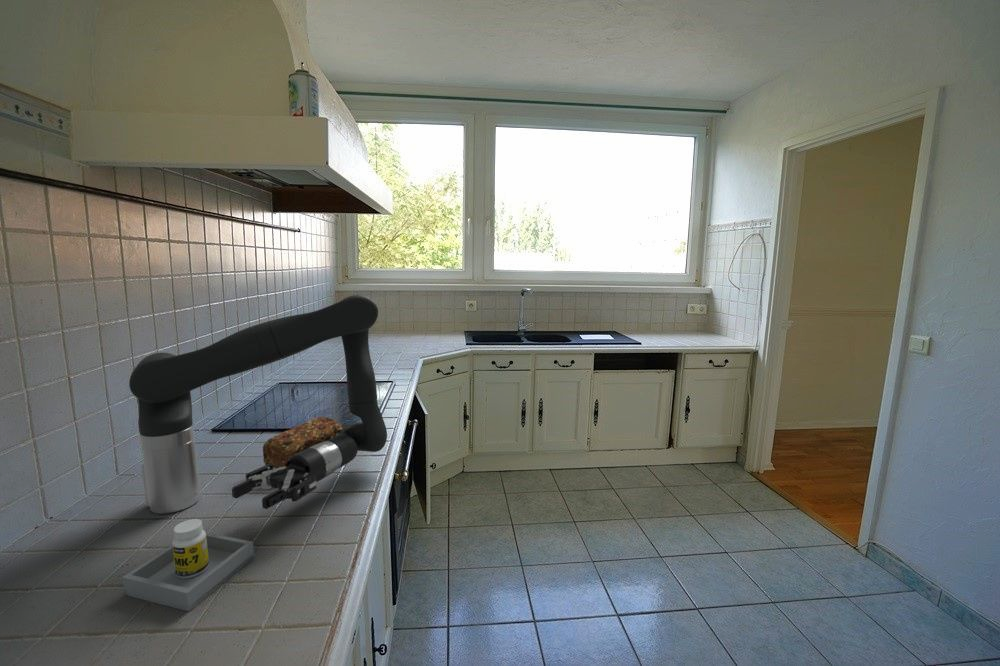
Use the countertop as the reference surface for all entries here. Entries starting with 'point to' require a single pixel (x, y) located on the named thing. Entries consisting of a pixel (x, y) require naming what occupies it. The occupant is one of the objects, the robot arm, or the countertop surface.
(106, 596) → the countertop surface
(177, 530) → the supplement bottle
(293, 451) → the bread
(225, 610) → the countertop surface
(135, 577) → the bin
